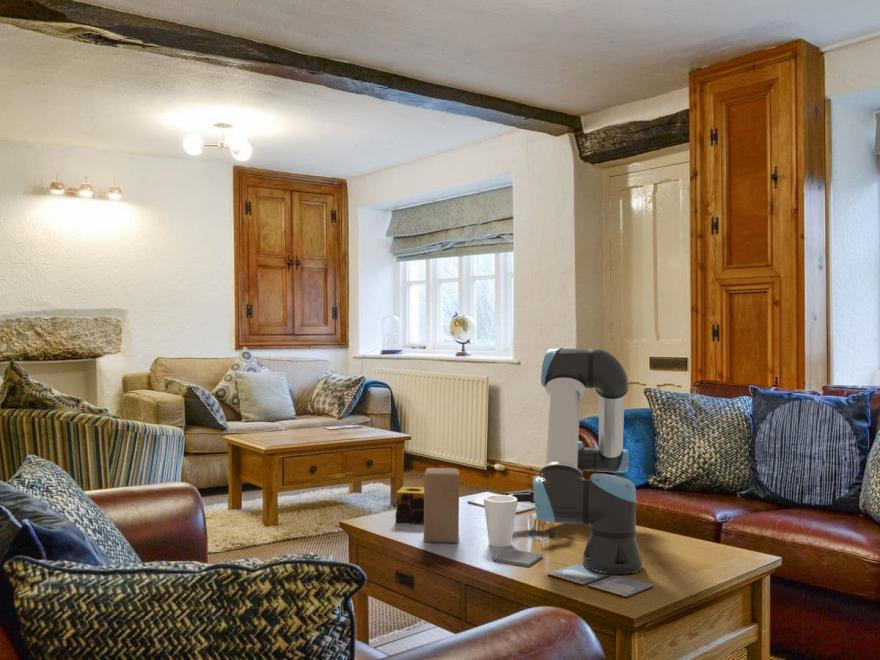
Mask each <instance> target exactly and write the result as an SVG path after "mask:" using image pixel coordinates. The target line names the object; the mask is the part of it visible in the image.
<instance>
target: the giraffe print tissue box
mask: <svg viewBox="0 0 880 660" xmlns="http://www.w3.org/2000/svg"><path fill="white" fill-rule="evenodd" d="M395 494H396V496H395V497H396V502H395V505H396V509H395V510H396V511H395V523H396V524H399V523H409V524H408V525H420V524H424V486H402V487H401V488H400V489H398V490H397V491H396V493H395Z"/></svg>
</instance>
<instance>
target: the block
mask: <svg viewBox="0 0 880 660" xmlns="http://www.w3.org/2000/svg"><path fill="white" fill-rule="evenodd" d="M423 483H424V484H423V485H424V486H423V487H424V525H423V540H424V542H425V543H428V542H441V544H446V543H447V544H456V543H458V542H459V531H460V529H459V527H460V526H459V523H460V521H459V520H460V512H459V511H460V470H459V469H458V468H456V467H454V468H453V467H451V468H450V467H447V468H446V467H427V468H426V469H425V473H424V482H423Z"/></svg>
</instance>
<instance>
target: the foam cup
mask: <svg viewBox="0 0 880 660" xmlns="http://www.w3.org/2000/svg"><path fill="white" fill-rule="evenodd" d="M483 508H484V512H485V513H484V514H485V520H486V521H485V522H486V528H487V529H486V531H487V538H488V544H489V546H491V547H496V548H506V547H510V546H511V545H512V541H513V537H514V535H513V534H514V527H515V520H516V519H515V518H516V513H517V508H518V502H517V498H516V497H512V496H507V495H505V494H504V495H503V494H493V495H487V496H484V498H483Z"/></svg>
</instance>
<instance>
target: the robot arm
mask: <svg viewBox="0 0 880 660" xmlns="http://www.w3.org/2000/svg"><path fill="white" fill-rule="evenodd" d="M541 365H542V366H541V373H540V382H541V383H540V384H541V386H542V387H544V388H545V391H546V393H547V394H548V396H550V397H549V412H548V425H547V426H548V427H547V439H546V440H547V441H546V454H545V465H544V466H542V467H541V468H540V470H539V473H538V475H536V476H534V477H533V478H532V480H533V490H532V489H526V490H517V491H506V492H505V493H504V495H507V496H512V497H516V498H517V503H523V502H524V503H526V502H528V503H531V504H534V508H535V514H536V518H537V519H538V520H539V521H540V522H546V523H552V524H573V525H574V524H575V525H586V526H587V525H589V538H588V540H587V543H586V545H585V549H584V551H583V553H582V554H583V555H582V565H583V567H584V568H586V567H588V568H590V569H593V570H597V571H602V572H606V573H609V574H608V575H615V574H624V575H628V574H627V573H633V572H636V571H639V570H640V569H641V568H642V569H643V558H642V554H641V552H640V547H639V546H638V542H637V537H636V527H637V525H636V524H637V523H636V519H637V517H636V516H637V515H636V509H637V507H636V505H637V504H636V503H637V501H638V499H637V495H636V494H637V493H636V492H637V491H636V490H637V489H636V485H635V484H634V482H632V481H631V480H630V479H628V478H626V477H622V476H619V475H614V474H616V473H627V472H628V471H629V466H630V465H629V464H630V463H629V462H630V460H629V457H630V455H629V453H630V452H629V450H628V449H626V448H624V423H625V422H624V421H625V420H624V417H625V416H624V415H625V396H626V395H627V394H628V392H629V379H628V374H627V373H626V370H625V368H624V366H623V365H622V363H621V362H620V361H619V360H618V358H617V357H615V356H614V355H613V354H612V353H610V352H608V351H607V350H604V349H600V348H564V347H559V348H549V349H548V350H546V352H545V354H544V355H543V360H542V364H541ZM586 389H595V392H596V394H597V395H598V447H587V446H586V447H585V446H584V443H583V442H582V441H581V440H579V438H580V437H579V436H580V435H579V433H580V432H579V431H580V411H581V409H580V408H581V398H582V397H584V395H585V394H586V391H587V390H586ZM584 471H585V472H596V473H592V474H591V475H590V477H589V479H586V478H584V475H583V474H584V473H583V472H584ZM597 472H599V473H597ZM600 472H602V473H600ZM605 472H606V473H605ZM542 473H543V475H542ZM607 473H613V474H607ZM541 475H542V477H541ZM543 479H544V480H543ZM588 568H587V569H588ZM590 569H589V570H590ZM639 572H640V571H639ZM633 574H634V573H633Z"/></svg>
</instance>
